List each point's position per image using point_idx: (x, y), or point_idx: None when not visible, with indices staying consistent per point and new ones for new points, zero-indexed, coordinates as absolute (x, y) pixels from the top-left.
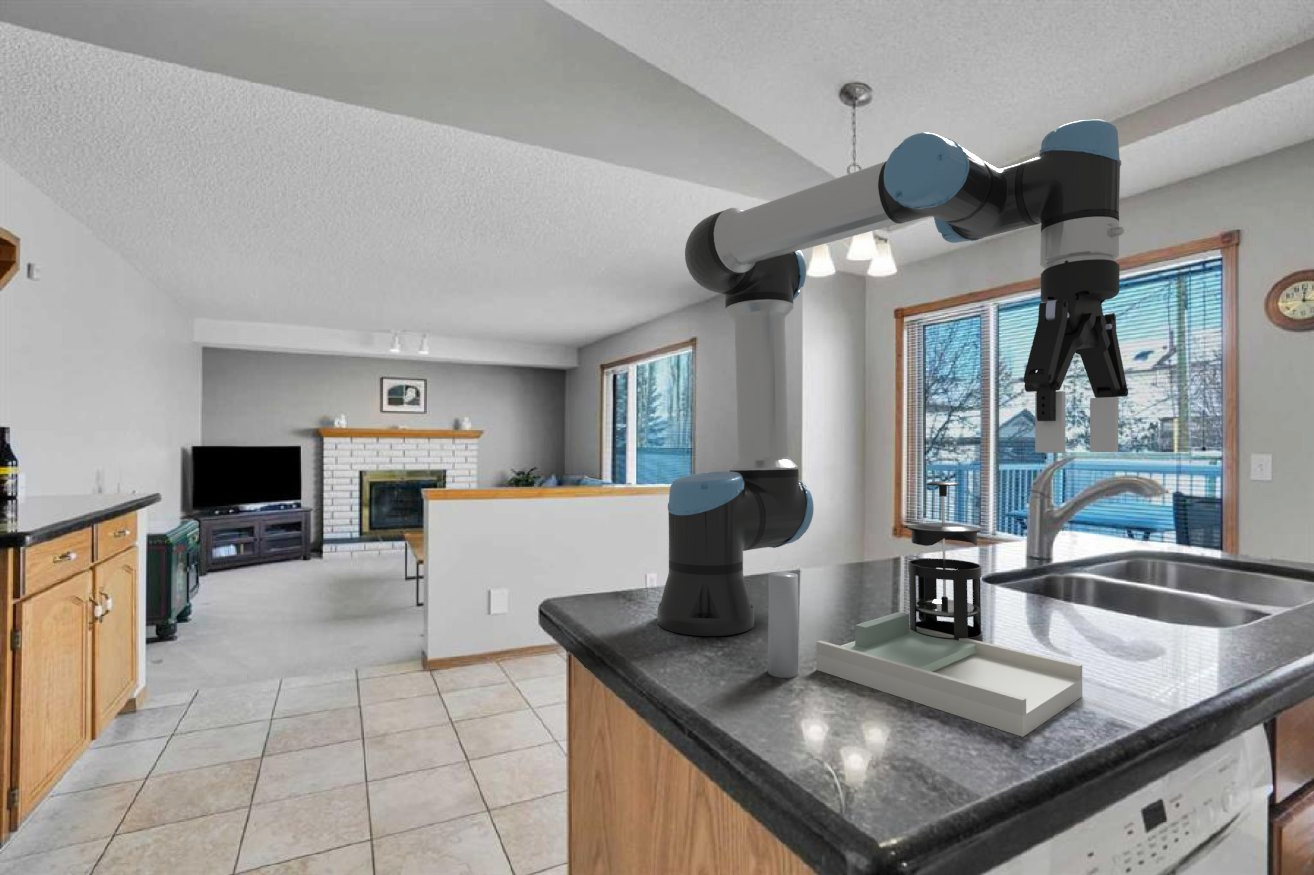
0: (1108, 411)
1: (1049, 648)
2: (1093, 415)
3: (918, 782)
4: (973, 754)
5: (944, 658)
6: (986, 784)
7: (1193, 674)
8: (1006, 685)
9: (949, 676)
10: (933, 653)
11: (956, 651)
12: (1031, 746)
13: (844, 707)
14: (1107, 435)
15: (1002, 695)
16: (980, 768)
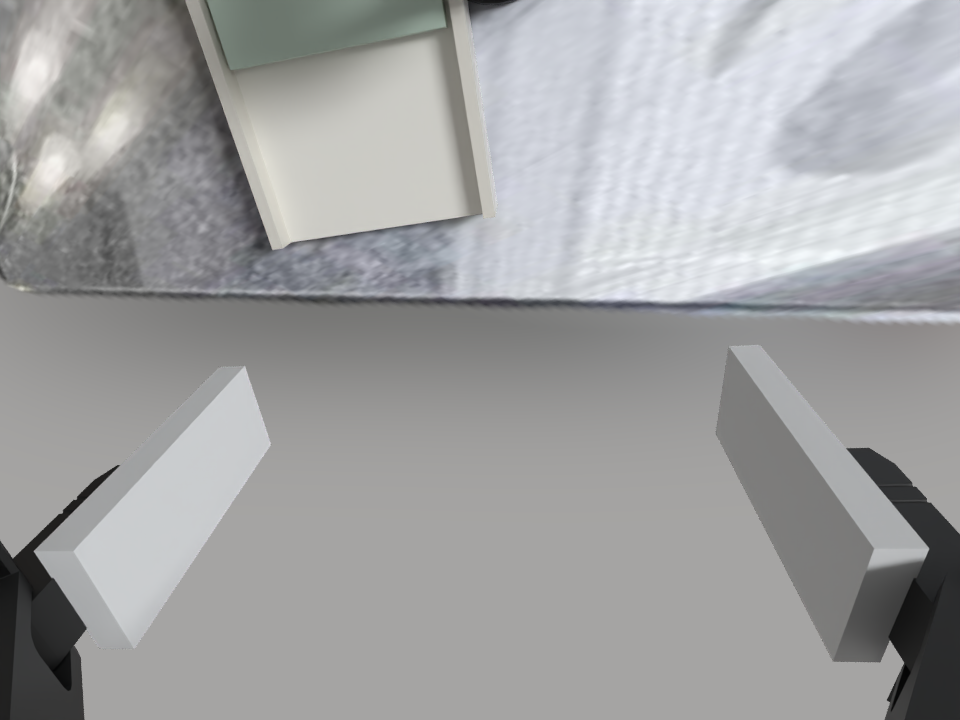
0: (798, 552)
1: (739, 15)
2: (805, 472)
3: (97, 239)
4: (198, 231)
5: (318, 52)
6: (164, 276)
7: (763, 251)
8: (357, 165)
9: (304, 85)
10: (319, 19)
11: (370, 37)
12: (279, 254)
13: (116, 28)
14: (743, 455)
15: (263, 223)
16: (182, 254)
